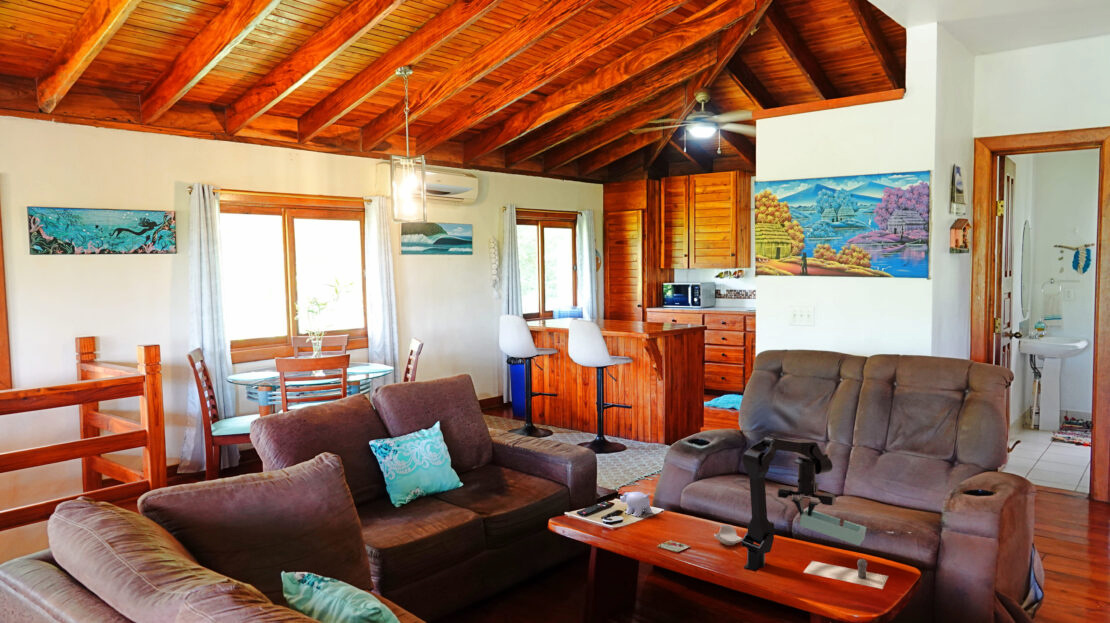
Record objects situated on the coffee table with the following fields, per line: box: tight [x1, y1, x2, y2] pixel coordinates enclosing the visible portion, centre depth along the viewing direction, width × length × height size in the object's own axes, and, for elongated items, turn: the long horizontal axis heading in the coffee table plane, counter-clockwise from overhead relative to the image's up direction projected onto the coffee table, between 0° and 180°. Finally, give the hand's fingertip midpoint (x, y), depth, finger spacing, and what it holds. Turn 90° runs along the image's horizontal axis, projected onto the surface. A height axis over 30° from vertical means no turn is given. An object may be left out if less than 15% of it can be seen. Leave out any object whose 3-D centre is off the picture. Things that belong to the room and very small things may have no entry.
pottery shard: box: [713, 524, 743, 546], centre depth 272 cm, size 10×11×5 cm
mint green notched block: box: [798, 508, 867, 547], centre depth 255 cm, size 20×9×4 cm, turn 57°
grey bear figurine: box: [619, 491, 653, 518], centre depth 308 cm, size 11×15×10 cm
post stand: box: [803, 558, 889, 590], centre depth 240 cm, size 24×12×7 cm, turn 57°
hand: (805, 519), depth 260 cm, fingers closed on mint green notched block, 2 cm apart
